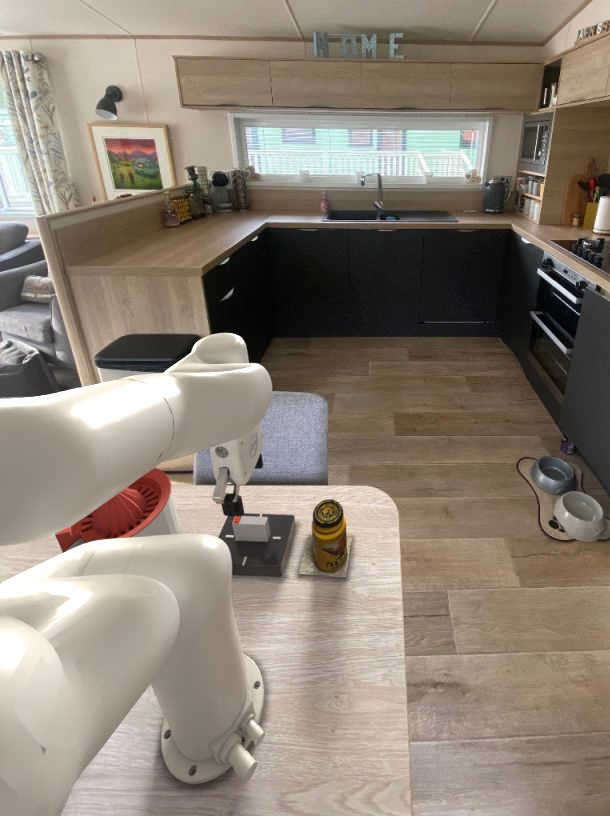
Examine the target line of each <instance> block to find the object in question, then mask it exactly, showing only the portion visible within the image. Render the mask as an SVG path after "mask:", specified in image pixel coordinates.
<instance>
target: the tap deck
mask: <svg viewBox="0 0 610 816" xmlns="http://www.w3.org/2000/svg"><path fill="white" fill-rule="evenodd" d="M243 516H253V517H268V521H269V528H270V537H269V540H268V542H257V541H236V540H235V536H234V531H233V526H232V523H233V520H234V518H235V516H234V517H230V516H226V519H225V521H224V523H223V526H222V527H221V530H220V532H219V535H218V538H220V539H221V540H223V541H224V542H225V543H226V545H227V546H228V548H229V550H230V554H231V560H232V576H240V577H241V576H243V577H244V576H246V577H265V578H266V577H268V578H270V577H272V578H282V577H283V575H284V572H285V569H286V564H287V560H288V557H289V552H290V548H291V545H292V541H293V537H294V533H295V529H296V526H297V525H296V517H295V514H284V513H283V514H280V513H264V512H260V513H252V512H251V513H250V512H247V513H246V512H244V514H243Z"/></svg>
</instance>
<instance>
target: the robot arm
mask: <svg viewBox="0 0 610 816" xmlns="http://www.w3.org/2000/svg"><path fill="white" fill-rule="evenodd" d="M272 399H273V383H272V379H271V376H270V374H269V372H268V370H267V369H266V368H265V367H264V366H263V365H261V364H259V363H255V362H250V361H249V354H248V349H247V344H246V342H245V340H244V339H243V337H241V336H240V335H237V334H235V333H231V332H230V333H229V332H219V333H214V334H210V335H207V336H205V337H202V338H200V339H199V340H198V341H197V342H195V344H194V345H193V347H191V352H190V353H189V354H187V355H186V356H185V357H183V358H181V360H179V361H177V362H176V363H175V364H173V365H172V366H170V367H169V368H167V369H166V370H164V372H157V373H155V372H154V373H145V374H136V375H129V376H125V377H122V378H118V379H114V380H113V379H112V380H109V381H105V382H100V383H96V384H91V385H87V386H83V387H76V388H72V389H68V390H64V391H63V390H62V391H59V392H55V393H50V394H45V395H44V394H43V395H39V396H31V397H22V398H3V399H0V547H6V546H15V545H21V544H27V543H30V542H35V541H39V540H41V539H45V538H47V537H51V536H53V535H55V534H56V533H58V532H60V531H62V530H64V529H66V528H68V527H70V526H72V525H74V524H75V523H77V522H78V521H80V520H81V519H83V518H84V517H86V516H87V515H89V514H90V513H92V512H93V511H94V510H96V509H97V508H98V507H100V506H101V505H103V504H104V503H105V502H107V501H108V500H110V499H111V498H113V497H114V496H116V495H117V494H118V493H120V492H121V491H123V490H124V489H125V488H127V487H128V486H130V485H131V484H132V483H134V482H135V481H136V480H138V479H139V478H141V477H142V476H143V475H145V474H146V473H148V472H150V471H151V470H152V469H154V468H156V467H158V466H159V465H161V464H163V463H166V462H170V461H173V460H177V459H181V458H184V457H188V456H190V455H194V454H197V453H199V452H202V451H205V450H208V449H209V452H210V460H211V461H210V462H211V467H212V471H213V476H214V479H215V481H216V482H215V486H214V490H213V493H212V498H211V499H212V501H213V502H214V503H215V504H218V505H221V509H222V514H223V515H224V516H225V517H228V516H230V517H234V516H243V514H244V513H245V508H244V503H243V499H242V495H240V487H241V486H245V485H246V484H247V483H248V482H249V481H250V479H251V477H252V475H253V472H254V470H261V469H262V468H263V467H264V461H263V455H262V451H263V448H264V445H265V439H264V433H263V429H262V428H263V427H262V424H261V422H262V421H263V420H264V418H265V416H266V414H267V413H268V411H269V409H270V405H271V403H272ZM229 485H231V486H232V485H233V490H232V493H231V492H226V490H227V486H229ZM218 537H219V536H218ZM218 537H217V536H215V535H211V534H205V533H181V534H171V535H154V536H147V537H131V538H114V539H104V540H96V541H92V542H88V543H85V544H82V545H80V546H77V547H75V548H73V549H70V550H68V551H66V552H64V553H63V552H62V553H60V554H58V555H56V556H54V557H52V558H50V559H47V560H44V561H43V562H41V563H39V564H37V565H35V566H32V567H31V568H29V569H26V570H24V571H22V572H20V573H17V574H16V575H13V576H11V577H10V578H7V579H6V580H4V581H2V582H1V583H0V816H61V815H62V813H63V811H64V809H65V808H66V807H65V806H66V804H67V802H68V799H69V797H70V795H71V793H72V790H73V788H74V786H75V784H76V782H77V781H78V780H79V778H80V776H81V775H82V774H83V772H84V771H85V770H86V769H87V767H88V766H89V765H90V764H91V762H93V760H94V759H95V758H96V756H98V754H99V752H100V751H101V750H102V749H103V747H104V746H105V745H106V744H107V743H108V741H109V739H110V738H111V737H112V735H113V734H114V733H115V732H116V730H117V729H118V728H119V726H120V725H121V723H122V722H124V720H125V718H126V717H127V716H128V715H129V713H130V712H131V710H132V709H133V708H134V706H135V705H136V704H137V702H138V701H139V700H140V699H141V697H142V696H143V695H144V693H145V692H146V690H147V689H148V688H149V687H150V686H151V688H152V691H153V692H154V695H155V697H156V700H157V702H158V704H159V706H160V709H161V711H162V713H163V720H162V724H161V731H160V747H161V755H162V757H163V760H164V764H165V766H166V767H167V769H168V771H169V772H170V773H171V775H173V777H174V778H175V779H177V780H179V781H181V782H182V783H185V784H191V785H196V784H197V785H198V784H204V783H207V782H210V781H212V780H213V781H214V780H215V779H217V778H218V777H220V776H222V775H224V774H225V773H226V772H227V771H229V769H230V768H233V771H234V773H235V774H236V775H237V777H238V778H239V779H240V780H241V782H242V783H243V784H247V783H248V782H249V781H250V780H251V778H252V776H253V775H254V773H255V771H256V768H257V767H258V762H257V761H256V759H255V757H253V756H252V754H251V753H250V752H249V750H247V749H248V748H249V746H250V744H251V743H253V745H255V746H256V747H259V745H261V743H262V742H263V740H264V738H265V736H266V732H265V731H264V730H263V728H262V727H261V726H260V722H261V719H262V715H263V709H264V706H265V689H264V687H265V686H264V681H263V677H262V673H261V670H260V669H259V667H258V665H257V664H256V663H255V661H254V660H253V659H252V658H251V657H249V656H248V655H247V654H244V651H243V646H242V641H241V638H240V632H239V628H238V625H237V621H236V617H235V612H234V607H233V606H234V605H233V599H232V598H233V597H232V584H233V583H232V582H233V575H232V560H231V554H230V550H229V548H228V546H227V545H226V543H225V542H224V541H223V540H221V539H220V538H218ZM194 772H195V773H194ZM193 773H194V774H193Z"/></svg>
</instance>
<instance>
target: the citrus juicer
mask: <svg viewBox="0 0 610 816" xmlns="http://www.w3.org/2000/svg"><path fill="white" fill-rule="evenodd" d="M181 529H182V527H181V521H180V517H179V514H178V511H177V507H176V503H175V500H174V497H173V492H172V482H171V478H170V477H169V476H168V475H167V473H166V472H164V471H163V470H161V469H159V468H156V467H155V468H154V469H152V470H151V471H150V472H148V473H146V474H145V475H143V476H142V477H141V478H139V479H138V480H136V481H135V482H134V483H132V484H131V485H130V486H128V487H127V488H125V489H124V490H123V491H121V492H120V493H118V494H117V495H116V496H114V497H113V498H111V499H110V500H108V501H107V502H105V503H104V504H103V505H101V506H100V507H98V508H97V509H96V510H94V511H93V512H92V513H90V514H89V515H87V516H86V517H84V518H83V519H81V520H80V521H78V522H77V523H75V524H74V525H72V526H70V527H68V528H66V529H64V530H62V531H60V532H58V533H56V534H54V537H55V539H56V540H57V542H58V545H59V547H60V550H61V551H62V553H64V552H66V551H68V550H70V549H73V548H75V547H77V546H80V545H82V544H85V543H88V542H92V541H96V540H104V539H114V538H131V537H147V536H154V535H171V534H182V533H181V531H182V530H181Z"/></svg>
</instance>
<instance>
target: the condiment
mask: <svg viewBox="0 0 610 816" xmlns="http://www.w3.org/2000/svg"><path fill="white" fill-rule="evenodd" d="M352 541H353V538H352V537H347V518H346V517H345V515H344V508H343V505H342V504H341V503H340V502H339V501H338V500H335V499H333V498H332V499H329V498H327V499H323V500H322V501H320V502H319V503H318V504H316V505H315V506H314V509H313V510H312V521H311V534H308V536H307V540H306V544H305V548H304V551H303V556H302V560H301V563H300V567H299V571H298V575H311V576H321V577H330V578H331V577H334V578H347V574H348V568H349V560H350V554H351V547H352Z"/></svg>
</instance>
